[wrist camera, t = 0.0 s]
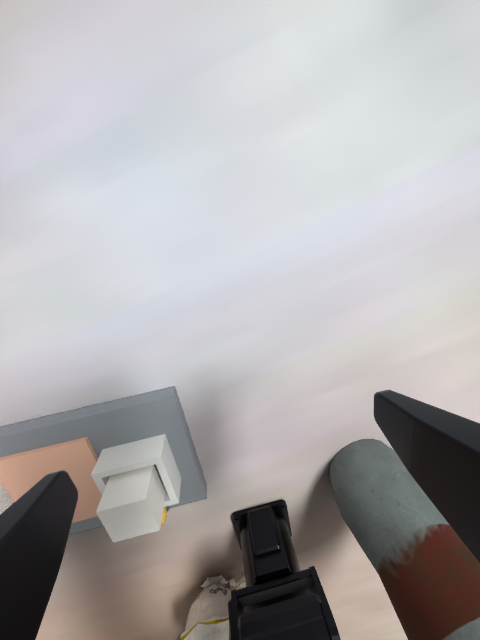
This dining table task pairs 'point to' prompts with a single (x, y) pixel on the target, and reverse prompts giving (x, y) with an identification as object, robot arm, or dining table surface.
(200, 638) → the chinaware
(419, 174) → the dining table surface
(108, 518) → the block
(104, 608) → the dining table surface
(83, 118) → the dining table surface
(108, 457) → the panel
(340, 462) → the bottle
